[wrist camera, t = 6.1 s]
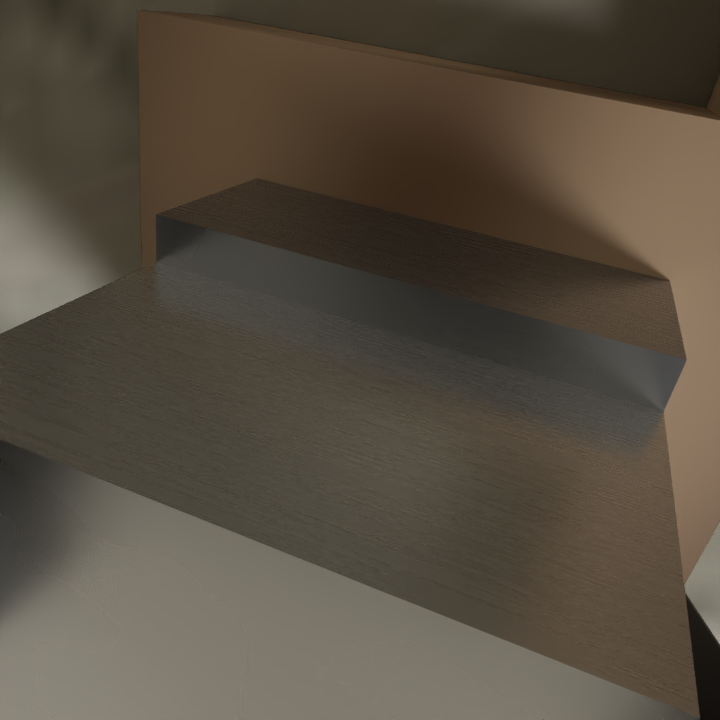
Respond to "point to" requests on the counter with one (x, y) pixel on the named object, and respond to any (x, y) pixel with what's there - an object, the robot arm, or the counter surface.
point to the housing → (343, 479)
